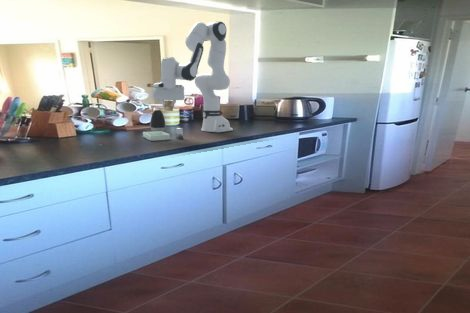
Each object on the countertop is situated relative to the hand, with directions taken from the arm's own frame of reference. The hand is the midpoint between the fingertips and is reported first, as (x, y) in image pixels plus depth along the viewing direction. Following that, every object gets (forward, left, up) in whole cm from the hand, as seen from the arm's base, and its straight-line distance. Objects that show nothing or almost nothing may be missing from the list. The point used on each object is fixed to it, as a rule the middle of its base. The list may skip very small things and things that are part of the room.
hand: (168, 107), depth 224 cm
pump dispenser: (+1, -17, -18) cm, 25 cm away
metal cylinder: (-3, +9, -18) cm, 20 cm away
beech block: (0, 0, -2) cm, 2 cm away
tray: (+10, +4, -18) cm, 21 cm away
